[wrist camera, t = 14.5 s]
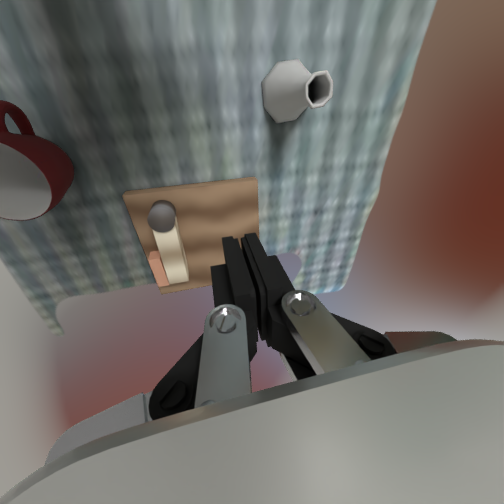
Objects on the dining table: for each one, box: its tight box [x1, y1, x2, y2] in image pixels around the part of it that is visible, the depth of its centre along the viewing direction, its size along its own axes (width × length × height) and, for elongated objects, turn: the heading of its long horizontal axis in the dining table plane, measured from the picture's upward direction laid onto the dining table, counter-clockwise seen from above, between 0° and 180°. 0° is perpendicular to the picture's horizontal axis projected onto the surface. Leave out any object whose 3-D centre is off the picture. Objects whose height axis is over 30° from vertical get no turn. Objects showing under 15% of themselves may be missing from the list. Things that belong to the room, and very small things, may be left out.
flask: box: [262, 59, 333, 123], centre depth 27 cm, size 7×7×10 cm
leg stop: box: [148, 251, 169, 287], centre depth 38 cm, size 6×2×2 cm, turn 2°
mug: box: [0, 100, 74, 221], centre depth 24 cm, size 10×8×10 cm
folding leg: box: [147, 200, 189, 284], centre depth 35 cm, size 14×4×4 cm, turn 1°
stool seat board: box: [122, 177, 259, 294], centre depth 40 cm, size 20×20×2 cm
